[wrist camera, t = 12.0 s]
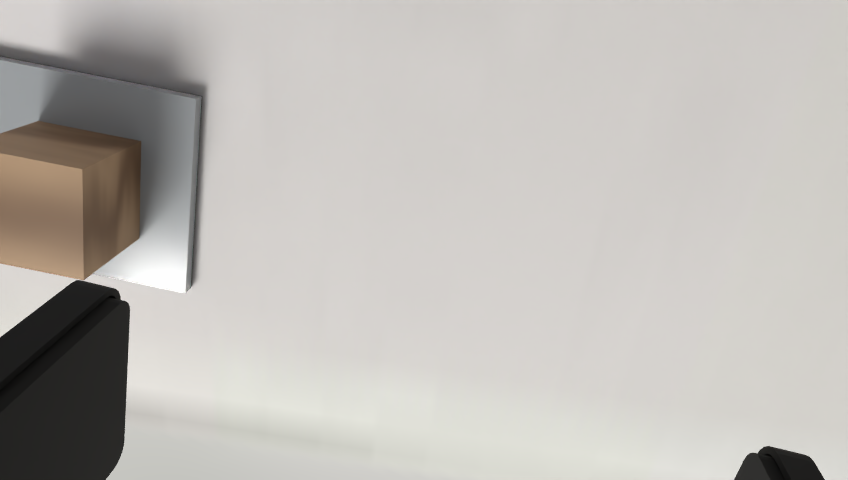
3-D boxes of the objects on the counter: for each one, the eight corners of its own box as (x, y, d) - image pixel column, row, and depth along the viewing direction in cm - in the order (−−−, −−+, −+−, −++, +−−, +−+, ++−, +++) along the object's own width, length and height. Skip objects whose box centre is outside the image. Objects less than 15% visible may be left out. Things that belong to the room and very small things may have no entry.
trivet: (-7, 55, 39) (-17, 56, 38) (201, 96, 39) (195, 98, 38) (4, 249, 44) (-5, 254, 43) (190, 287, 43) (185, 293, 42)
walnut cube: (38, 121, 39) (-38, 145, 34) (141, 141, 39) (82, 169, 34) (41, 219, 42) (-29, 257, 36) (139, 238, 41) (83, 280, 36)
